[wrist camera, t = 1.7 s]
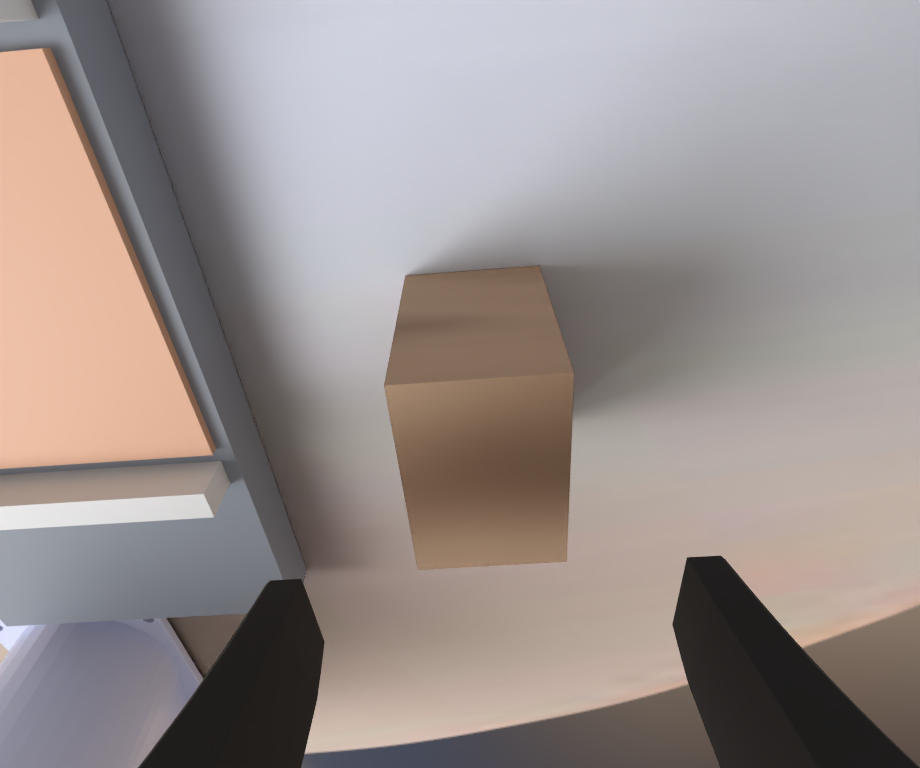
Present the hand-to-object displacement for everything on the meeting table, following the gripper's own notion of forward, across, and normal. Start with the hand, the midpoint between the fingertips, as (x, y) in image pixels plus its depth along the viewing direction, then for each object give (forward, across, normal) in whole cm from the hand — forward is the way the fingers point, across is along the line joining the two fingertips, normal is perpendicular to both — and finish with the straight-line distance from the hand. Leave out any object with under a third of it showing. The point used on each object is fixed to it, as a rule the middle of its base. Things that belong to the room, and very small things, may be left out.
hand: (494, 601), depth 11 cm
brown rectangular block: (+9, 0, 0) cm, 9 cm away
